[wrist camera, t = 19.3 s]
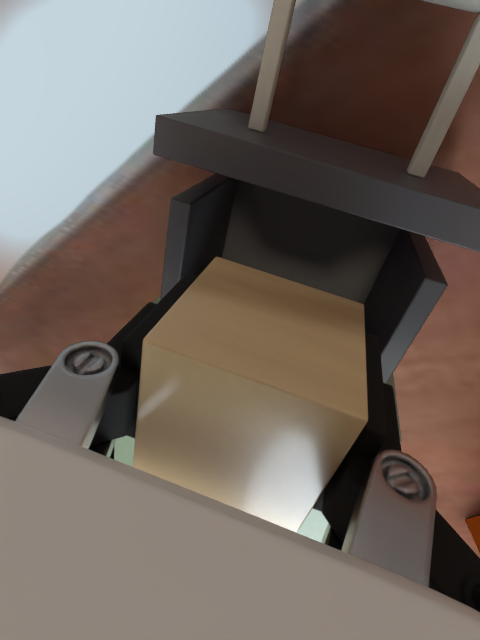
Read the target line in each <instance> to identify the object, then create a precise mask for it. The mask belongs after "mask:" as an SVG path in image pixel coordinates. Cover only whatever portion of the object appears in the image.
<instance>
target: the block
mask: <svg viewBox="0 0 480 640" xmlns="http://www.w3.org/2000/svg"><path fill="white" fill-rule="evenodd" d="M367 422H368V400H367V372H366V345H365V317H364V305H363V304H361V303H358V302H355V301H352V300H349V299H346V298H343V297H340V296H337V295H334V294H331V293H328V292H324V291H321V290H318V289H315V288H312V287H309V286H306V285H303V284H300V283H297V282H294V281H291V280H288V279H285V278H281V277H278V276H275V275H272V274H269V273H266V272H263V271H260V270H257V269H254V268H251V267H248V266H245V265H242V264H239V263H235V262H232V261H229V260H226V259H223V258H220V257H215V258H214V259H213V260H212V262H211V263H210V264H209V265H208V266H207V267H206V268H205V270H204V271H203V272H202V273H201V274H200V275H199V276H198V278H197V279H196V280H195V281H194V282H193V283H192V284H191V285H190V287H189V288H188V289H187V290H186V291H185V292H184V293H183V295H182V296H181V297H180V298H179V299H178V300H177V301H176V303H175V304H174V305H173V306H172V307H171V308H170V309H169V310H168V312H167V313H166V314H165V315H164V316H163V317H162V318H161V320H160V321H159V322H158V323H157V324H156V325H155V326H154V328H153V329H152V330H151V331H150V332H149V333H148V334H147V335H146V337H145V338H144V339H143V346H142V358H141V371H140V383H139V395H138V407H137V420H136V432H135V444H134V457H133V467H134V468H137V469H139V470H142V471H144V472H147V473H149V474H152V475H154V476H157V477H159V478H162V479H164V480H167V481H169V482H172V483H174V484H177V485H179V486H182V487H184V488H187V489H189V490H192V491H194V492H197V493H199V494H202V495H204V496H207V497H209V498H212V499H214V500H217V501H219V502H222V503H224V504H227V505H229V506H232V507H234V508H237V509H239V510H242V511H244V512H247V513H249V514H252V515H254V516H257V517H259V518H262V519H264V520H267V521H269V522H272V523H274V524H276V525H279V526H281V527H284V528H286V529H289V530H291V531H294V532H296V533H297V531H298V530H299V528H300V527H301V525H302V524H303V522H304V520H305V519H306V517H307V516H308V514H309V513H310V511H311V509H312V508H313V506H314V505H315V503H316V502H317V500H318V498H319V497H320V495H321V494H322V492H323V491H324V489H325V487H326V486H327V484H328V483H329V481H330V480H331V478H332V476H333V475H334V473H335V472H336V470H337V469H338V467H339V465H340V464H341V462H342V461H343V459H344V458H345V456H346V455H347V453H348V451H349V450H350V448H351V447H352V445H353V444H354V442H355V440H356V439H357V437H358V436H359V434H360V433H361V431H362V429H363V428H364V426H365V425H366V423H367Z"/></svg>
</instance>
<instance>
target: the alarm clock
mask: <svg viewBox="0 0 480 640" xmlns="http://www.w3.org/2000/svg"><path fill="white" fill-rule="evenodd" d="M465 521H466V523H467V525H468V527H469V530H470V532H471V534H472V536H473V539H474V541H475V543H476V545H477V548H478V550H479V552H480V515H479V516H476V517H472V518H469V519H466V520H465Z"/></svg>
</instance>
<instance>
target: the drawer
mask: <svg viewBox="0 0 480 640" xmlns="http://www.w3.org/2000/svg"><path fill="white" fill-rule="evenodd" d="M422 1H426V2H430V3H435V4H439V5H443V6H448V7H452V8H456V9H461V10H465V11H469V12H473V13H478V14H480V0H422ZM295 2H296V0H274V3H273V8H272V13H271V18H270V23H269V27H268V32H267V37H266V42H265V47H264V52H263V57H262V62H261V66H260V71H259V76H258V81H257V86H256V91H255V96H254V101H253V106H252V110H251V115H250V114H247V113H243V112H239V111H236V110H232V109H229V108H227V109H216V110H205V111H195V112H184V113H173V114H163V115H156V123H155V136H154V149H153V154H154V155H157V156H161V157H164V158H167V159H170V160H174V161H177V162H180V163H184V164H187V165H190V166H194V167H197V168H200V169H204V170H207V171H210V172H214V173H216V174H214V175H213V176H211V177H209V178H207V179H205V180H203V181H202V182H200V183H198V184H196V185H194V186H192V187H191V188H189V189H187V190H185V191H183V192H181V193H180V194H178V195H176V196H174V197H172V198H171V204H170V213H169V222H168V232H167V241H166V250H165V260H164V269H163V279H162V288H161V297H160V300H161V299H162V298H163V297H164V296H165V295H166V294H167V293H168V292H169V291H170V290H171V289H172V288H173V287H174V286H175V285H176V284H177V283H178V282H179V281H180V280H181V279H182V278H183V277H184V275H185V274H187V273H188V274H191V275H194V276H197V277H198V276H199V275H200V274H201V273H202V272H203V271H204V270H205V268H206V267H207V266H208V265H209V264H210V263H211V262H212V260H213V259H214V258H215V257H220V258H223V259H226V260H229V261H232V262H235V263H239V264H242V265H245V266H248V267H251V268H254V269H257V270H260V271H263V272H266V273H269V274H272V275H275V276H278V277H281V278H285V279H288V280H291V281H294V282H297V283H300V284H303V285H306V286H309V287H312V288H315V289H318V290H321V291H324V292H328V293H331V294H334V295H337V296H340V297H343V298H346V299H349V300H352V301H355V302H358V303H361V304H363V305H364V317H365V333H368V334H371V335H374V336H377V337H379V343H380V353H381V364H382V375H383V383H387V381H388V380H389V378H390V377H391V375H392V373H393V372H394V370H395V369H396V367H397V365H398V364H399V362H400V361H401V359H402V357H403V356H404V354H405V353H406V351H407V349H408V348H409V346H410V345H411V343H412V341H413V340H414V338H415V337H416V335H417V333H418V332H419V330H420V329H421V327H422V325H423V324H424V322H425V321H426V319H427V317H428V316H429V314H430V313H431V311H432V309H433V308H434V306H435V305H436V303H437V301H438V300H439V298H440V297H441V295H442V293H443V292H444V290H445V289H446V287H447V285H448V284H447V282H446V280H445V278H444V275H443V273H442V271H441V269H440V267H439V265H438V263H437V261H436V259H435V257H434V255H433V253H432V251H431V248H430V246H429V244H428V242H427V240H426V238H425V236H427V237H430V238H433V239H437V240H440V241H443V242H447V243H450V244H453V245H457V246H460V247H463V248H467V249H470V250H473V251H476V252H480V189H479V188H478V187H476V186H475V185H474V184H473V183H471V182H470V181H469V180H467V179H466V178H465V177H463V176H462V175H461V174H459V173H458V172H454V171H450V170H447V169H443V168H440V167H436V166H433V165H431V163H432V161H433V159H434V157H435V155H436V153H437V151H438V149H439V147H440V145H441V143H442V141H443V139H444V137H445V135H446V133H447V131H448V129H449V127H450V125H451V122H452V120H453V118H454V116H455V114H456V112H457V110H458V108H459V106H460V104H461V102H462V100H463V98H464V96H465V94H466V92H467V90H468V88H469V86H470V84H471V81H472V79H473V77H474V75H475V73H476V71H477V69H478V67H479V65H480V15H478V16H477V17H476V19H475V21H474V23H473V25H472V28H471V30H470V32H469V34H468V36H467V39H466V41H465V43H464V45H463V47H462V50H461V52H460V54H459V56H458V58H457V61H456V63H455V65H454V67H453V69H452V72H451V74H450V76H449V78H448V80H447V83H446V85H445V87H444V89H443V91H442V94H441V96H440V98H439V100H438V102H437V104H436V107H435V109H434V111H433V113H432V115H431V118H430V120H429V122H428V124H427V126H426V129H425V131H424V133H423V135H422V137H421V140H420V142H419V144H418V146H417V148H416V151H415V153H414V155H413V157H412V159H408V158H404V157H400V156H397V155H393V154H390V153H386V152H382V151H379V150H375V149H372V148H368V147H365V146H361V145H357V144H354V143H350V142H347V141H343V140H340V139H336V138H332V137H329V136H325V135H322V134H318V133H315V132H311V131H307V130H304V129H300V128H297V127H293V126H289V125H286V124H282V123H279V122H275V121H272V120H268V119H269V115H270V111H271V106H272V102H273V98H274V93H275V89H276V85H277V80H278V76H279V72H280V67H281V63H282V59H283V54H284V50H285V46H286V41H287V37H288V33H289V28H290V24H291V20H292V15H293V11H294V7H295Z"/></svg>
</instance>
